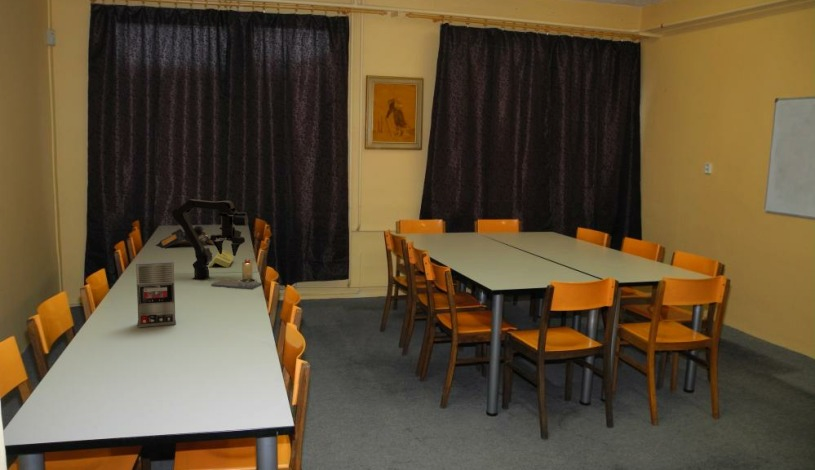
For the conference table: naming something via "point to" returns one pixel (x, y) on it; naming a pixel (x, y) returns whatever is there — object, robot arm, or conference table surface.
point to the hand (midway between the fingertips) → (227, 255)
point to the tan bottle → (247, 271)
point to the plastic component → (222, 259)
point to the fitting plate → (237, 284)
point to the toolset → (184, 237)
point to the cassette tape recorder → (155, 293)
